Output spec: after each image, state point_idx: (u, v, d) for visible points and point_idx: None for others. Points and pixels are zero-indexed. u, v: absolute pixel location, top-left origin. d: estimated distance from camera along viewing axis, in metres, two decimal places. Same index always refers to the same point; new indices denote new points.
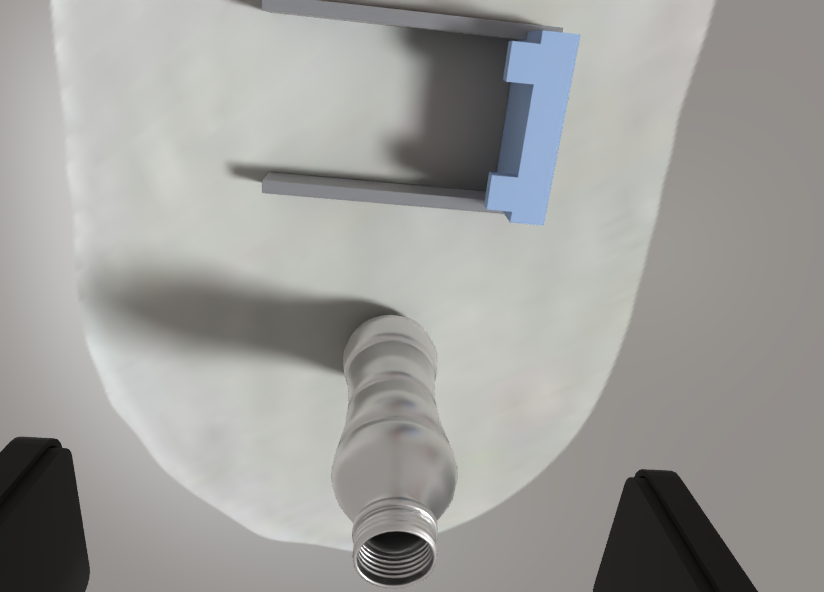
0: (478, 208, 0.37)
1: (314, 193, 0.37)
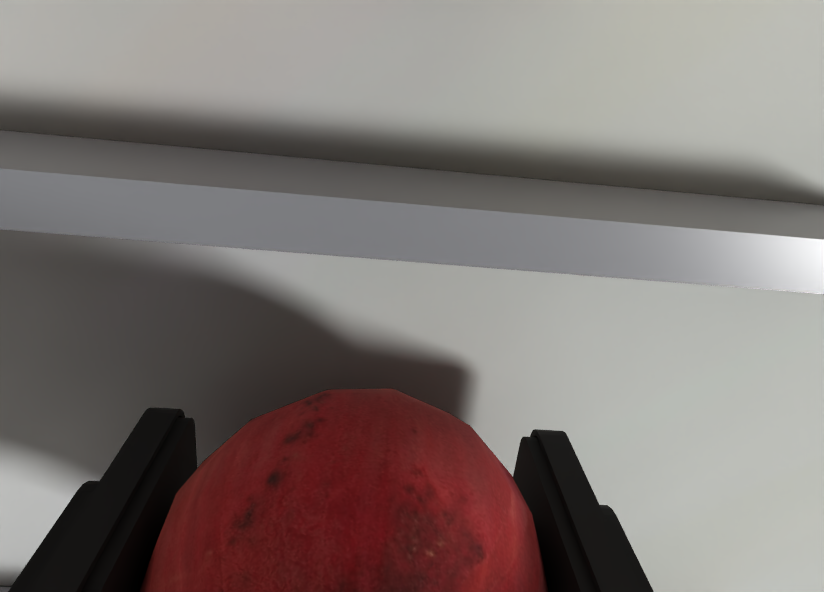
0: None
1: None
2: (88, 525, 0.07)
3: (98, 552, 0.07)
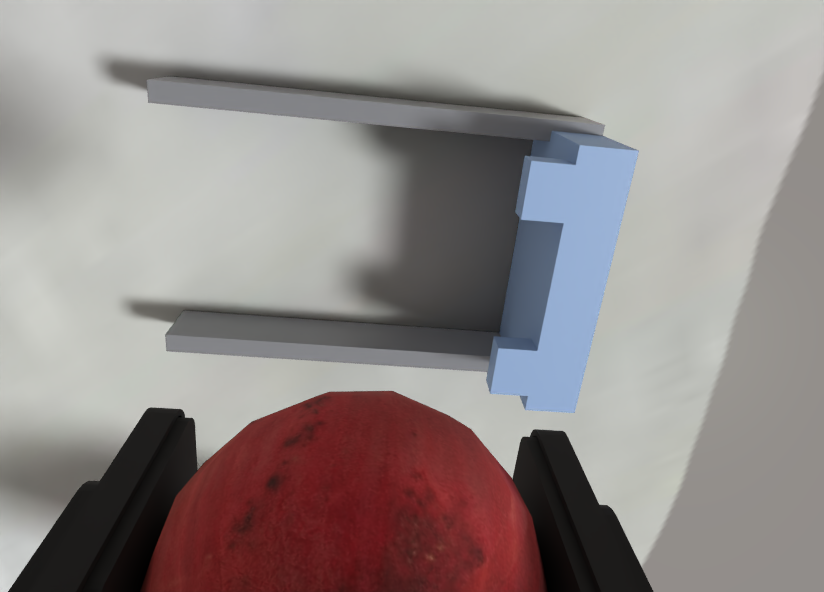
0: (478, 367, 0.26)
1: (242, 351, 0.25)
2: (88, 525, 0.07)
3: (98, 553, 0.07)
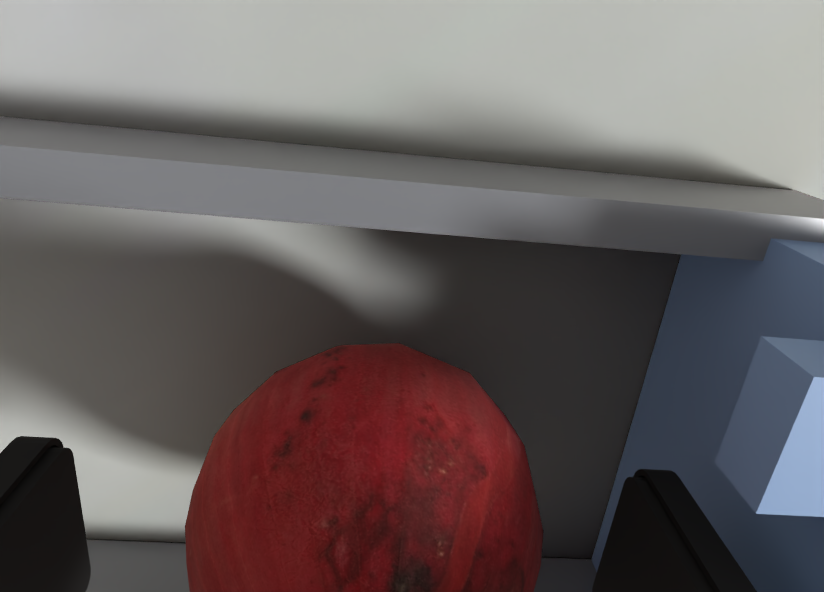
0: None
1: None
2: None
3: None
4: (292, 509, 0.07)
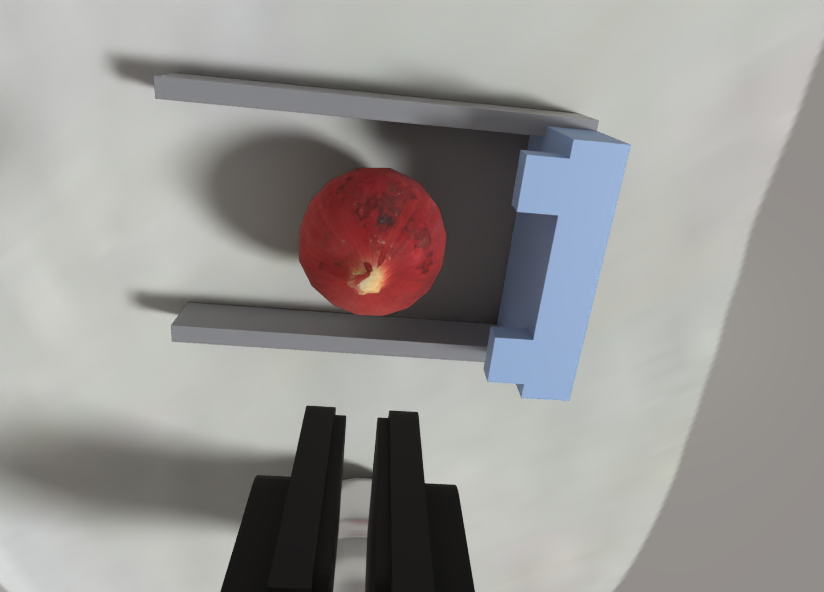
0: (475, 357, 0.27)
1: (246, 341, 0.26)
2: (298, 515, 0.08)
3: (316, 540, 0.08)
4: (343, 202, 0.21)
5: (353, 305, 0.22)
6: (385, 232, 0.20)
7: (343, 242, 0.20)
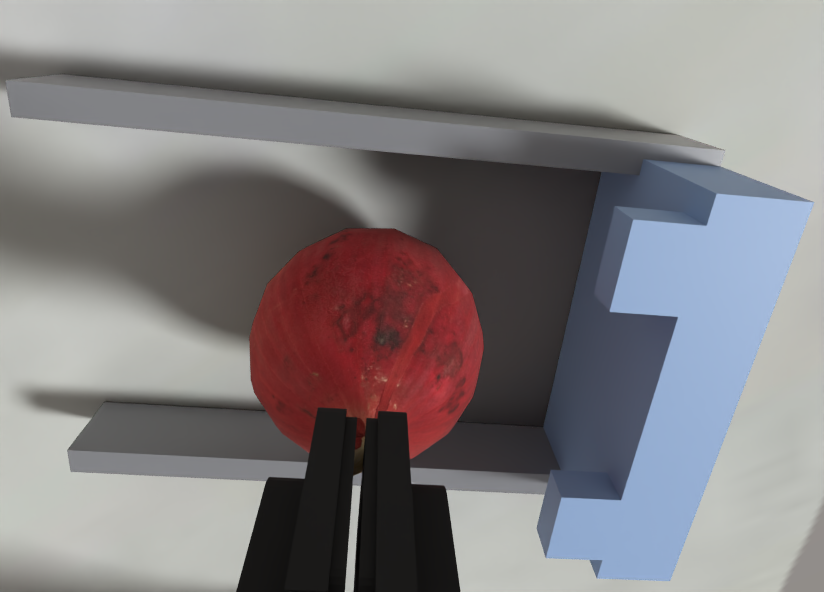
0: (518, 488, 0.19)
1: (180, 470, 0.18)
2: (312, 517, 0.08)
3: (332, 543, 0.07)
4: (317, 303, 0.12)
5: None
6: (387, 361, 0.12)
7: (315, 376, 0.12)
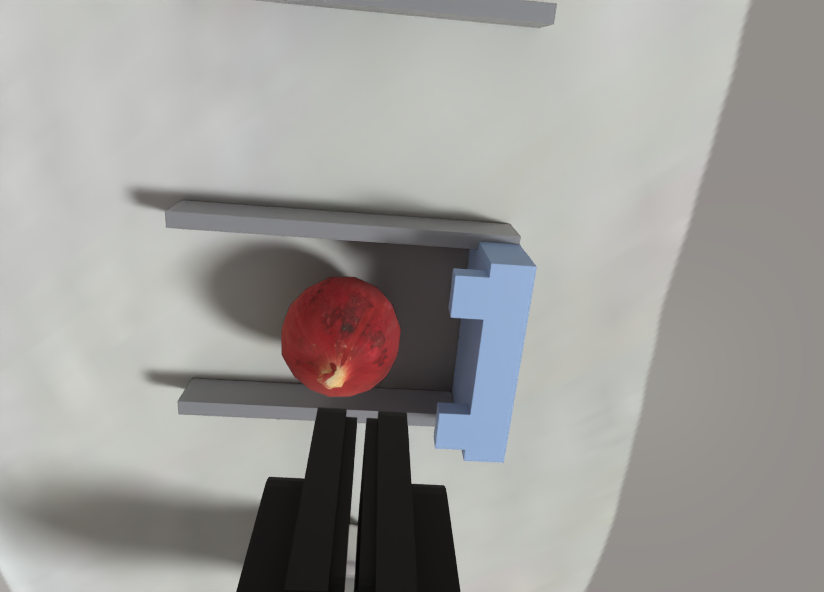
0: (431, 423, 0.32)
1: (239, 413, 0.32)
2: (312, 517, 0.08)
3: (332, 543, 0.07)
4: (314, 313, 0.26)
5: (324, 391, 0.27)
6: (346, 338, 0.26)
7: (314, 345, 0.26)
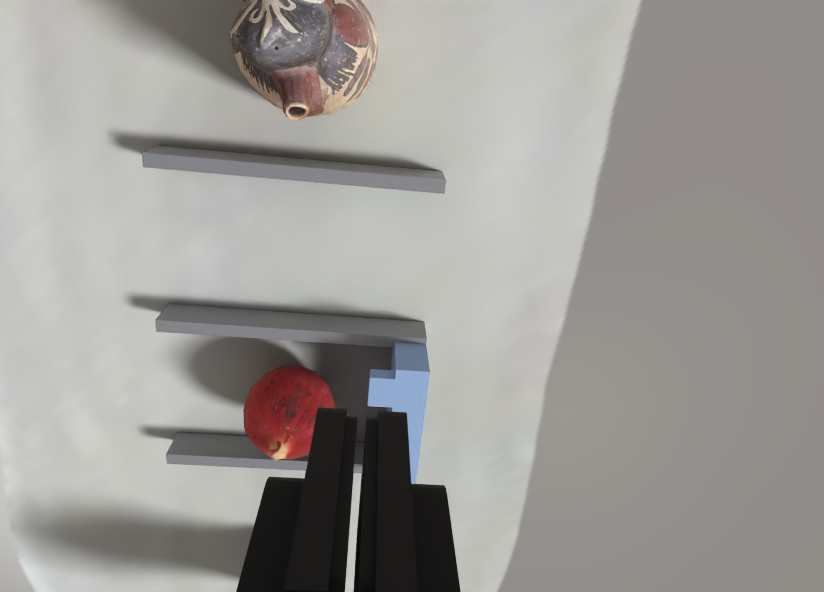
0: None
1: (214, 463, 0.41)
2: (312, 517, 0.08)
3: (332, 543, 0.07)
4: (266, 400, 0.36)
5: None
6: (289, 422, 0.35)
7: (265, 427, 0.35)
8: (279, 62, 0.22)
